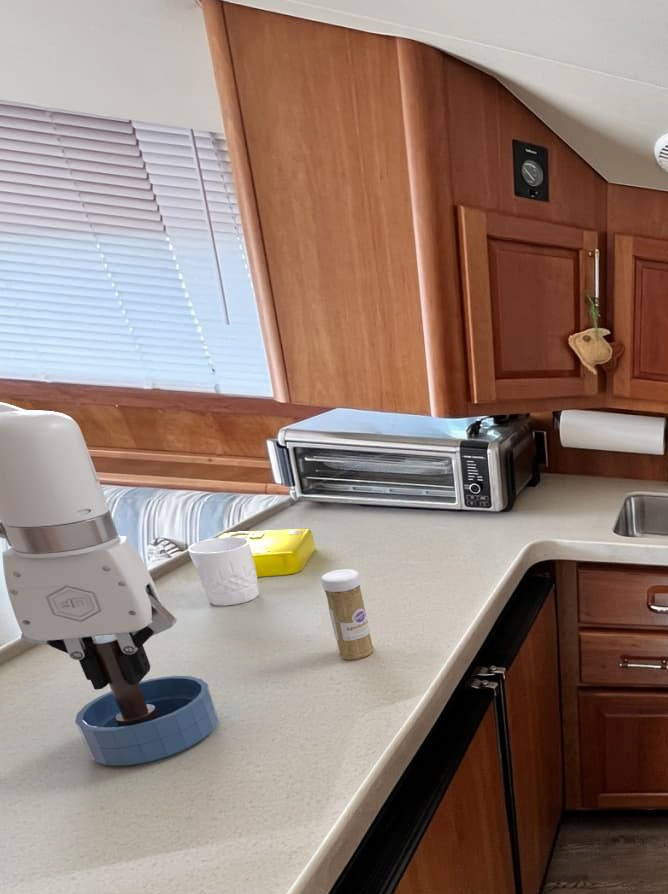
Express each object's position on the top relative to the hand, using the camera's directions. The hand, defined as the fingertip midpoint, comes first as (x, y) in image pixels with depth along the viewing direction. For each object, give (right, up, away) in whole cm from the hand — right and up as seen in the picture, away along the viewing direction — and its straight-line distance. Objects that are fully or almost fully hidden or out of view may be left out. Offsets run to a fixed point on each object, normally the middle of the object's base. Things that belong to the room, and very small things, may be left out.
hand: (122, 679), depth 73 cm
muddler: (-1, -7, +3) cm, 8 cm away
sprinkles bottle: (+10, 0, +25) cm, 27 cm away
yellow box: (-27, +14, +51) cm, 59 cm away
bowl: (0, -8, +4) cm, 9 cm away
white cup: (-20, +8, +38) cm, 43 cm away
